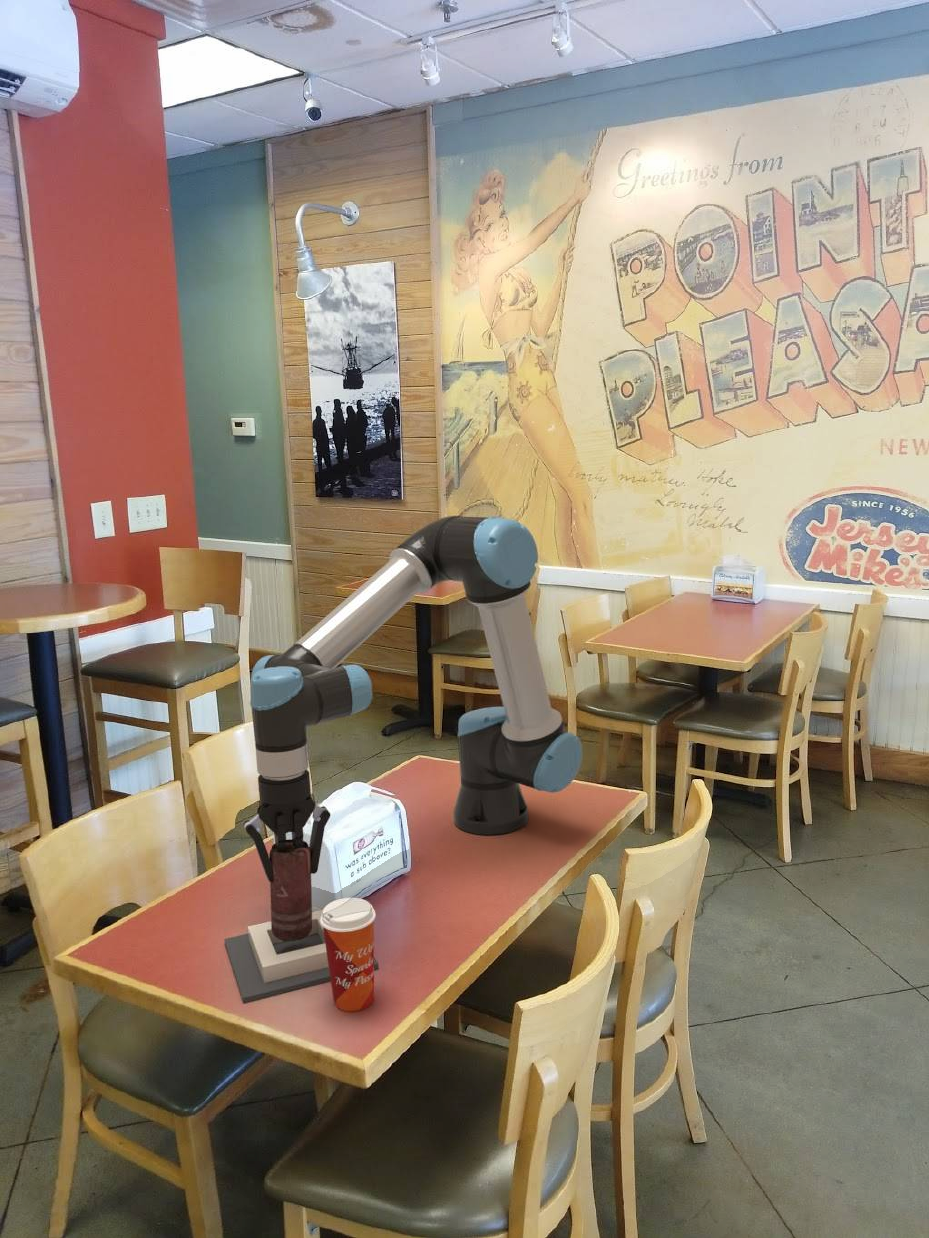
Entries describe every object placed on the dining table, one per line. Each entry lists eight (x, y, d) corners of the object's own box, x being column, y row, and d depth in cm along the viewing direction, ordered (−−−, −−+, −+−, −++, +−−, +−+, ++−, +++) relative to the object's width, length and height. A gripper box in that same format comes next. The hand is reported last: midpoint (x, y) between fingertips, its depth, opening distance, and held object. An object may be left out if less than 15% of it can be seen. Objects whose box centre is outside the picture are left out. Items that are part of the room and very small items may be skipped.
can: (305, 944, 144) (303, 855, 142) (265, 939, 145) (262, 851, 143) (319, 925, 150) (318, 839, 148) (281, 921, 151) (279, 836, 149)
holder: (329, 922, 157) (328, 908, 156) (350, 961, 145) (349, 946, 145) (249, 941, 152) (247, 926, 152) (264, 982, 140) (262, 967, 140)
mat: (346, 915, 161) (346, 910, 161) (378, 968, 144) (378, 963, 144) (224, 943, 154) (224, 938, 153) (243, 1003, 137) (242, 998, 137)
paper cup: (343, 1023, 131) (336, 928, 129) (317, 998, 137) (309, 907, 135) (392, 1001, 136) (386, 909, 133) (364, 978, 142) (358, 890, 139)
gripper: (320, 757, 149) (331, 899, 153) (234, 771, 144) (248, 917, 149) (332, 772, 142) (343, 920, 147) (242, 787, 137) (256, 940, 142)
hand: (295, 918), depth 148 cm, fingers closed
